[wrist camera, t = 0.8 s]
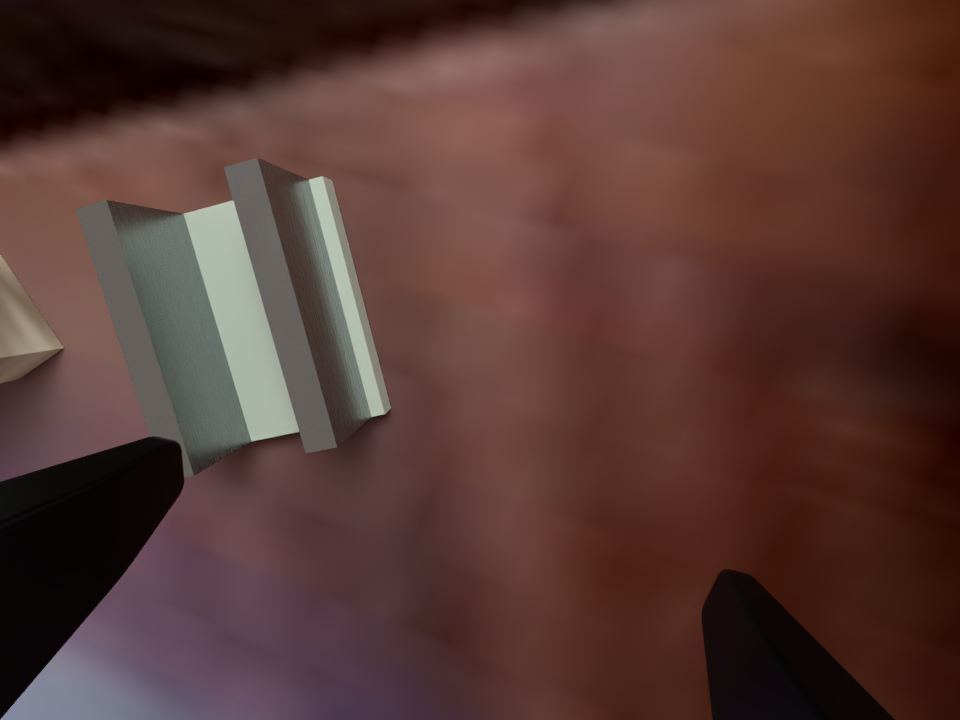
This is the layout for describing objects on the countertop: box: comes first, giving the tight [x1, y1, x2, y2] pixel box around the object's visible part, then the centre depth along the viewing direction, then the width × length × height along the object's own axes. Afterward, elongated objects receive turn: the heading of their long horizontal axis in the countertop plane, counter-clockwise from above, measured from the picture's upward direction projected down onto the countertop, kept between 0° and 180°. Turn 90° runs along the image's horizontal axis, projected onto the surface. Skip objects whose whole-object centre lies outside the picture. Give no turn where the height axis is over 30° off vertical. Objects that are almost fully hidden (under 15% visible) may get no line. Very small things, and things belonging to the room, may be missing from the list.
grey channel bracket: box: [76, 158, 391, 478], centre depth 21 cm, size 10×8×5 cm
